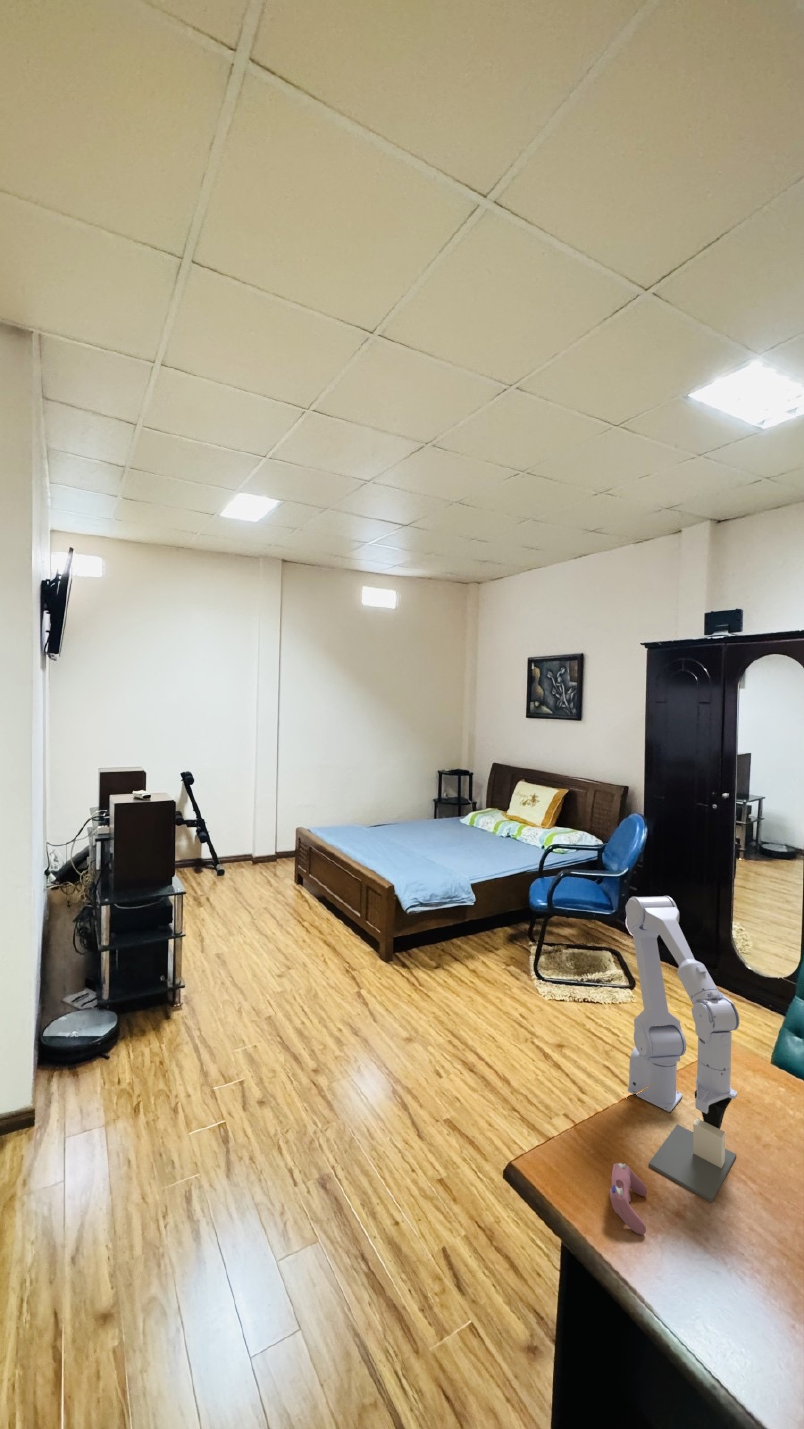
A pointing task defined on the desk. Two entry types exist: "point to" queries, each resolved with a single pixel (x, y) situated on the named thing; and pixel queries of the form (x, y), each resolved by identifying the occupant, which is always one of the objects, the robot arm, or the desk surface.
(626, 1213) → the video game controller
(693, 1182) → the mat
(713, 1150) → the block
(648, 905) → the robot arm
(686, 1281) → the desk surface
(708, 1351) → the desk surface
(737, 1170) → the desk surface
